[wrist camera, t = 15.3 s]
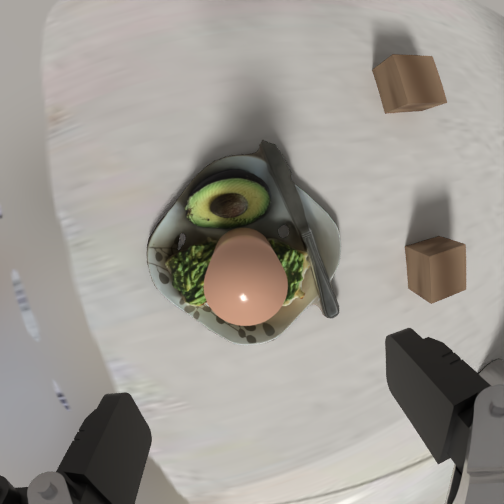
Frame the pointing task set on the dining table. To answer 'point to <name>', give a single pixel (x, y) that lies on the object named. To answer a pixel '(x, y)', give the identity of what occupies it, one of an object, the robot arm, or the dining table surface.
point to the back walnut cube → (436, 268)
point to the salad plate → (254, 217)
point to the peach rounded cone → (245, 278)
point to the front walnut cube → (409, 83)
